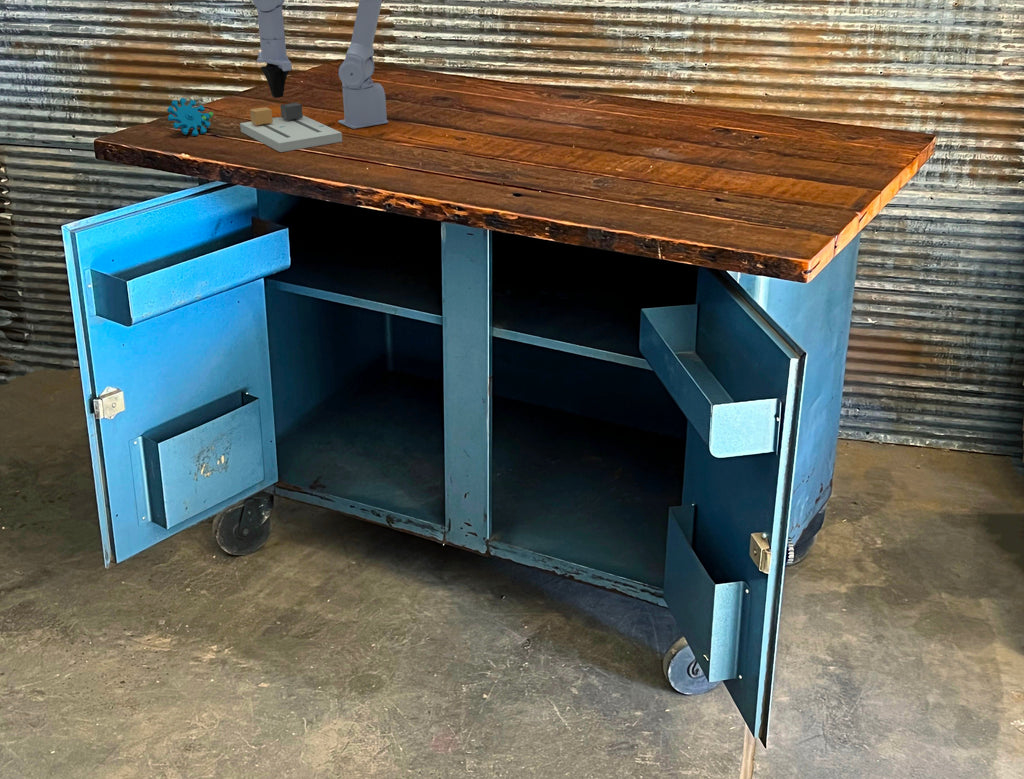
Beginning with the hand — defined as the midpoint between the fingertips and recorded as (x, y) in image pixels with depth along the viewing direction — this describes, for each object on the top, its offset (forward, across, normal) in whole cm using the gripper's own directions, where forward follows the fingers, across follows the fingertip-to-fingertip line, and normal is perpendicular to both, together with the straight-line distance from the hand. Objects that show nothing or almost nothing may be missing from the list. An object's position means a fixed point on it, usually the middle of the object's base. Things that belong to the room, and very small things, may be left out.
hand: (277, 96), depth 291 cm
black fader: (+4, +7, 0) cm, 8 cm away
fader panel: (+6, +14, -4) cm, 16 cm away
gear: (+6, -3, -20) cm, 22 cm away
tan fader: (+4, +7, -7) cm, 11 cm away
